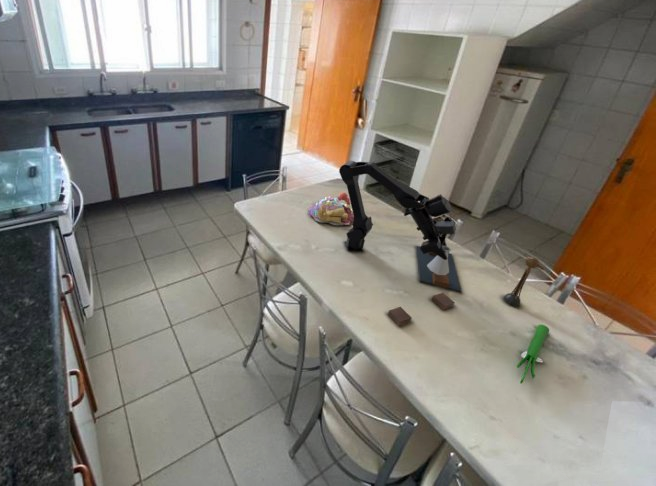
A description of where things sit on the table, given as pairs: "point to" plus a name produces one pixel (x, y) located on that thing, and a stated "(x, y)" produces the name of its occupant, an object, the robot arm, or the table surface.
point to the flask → (440, 263)
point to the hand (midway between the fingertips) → (447, 257)
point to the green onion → (534, 350)
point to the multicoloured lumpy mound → (333, 210)
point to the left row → (402, 317)
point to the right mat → (428, 273)
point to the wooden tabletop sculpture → (522, 282)
